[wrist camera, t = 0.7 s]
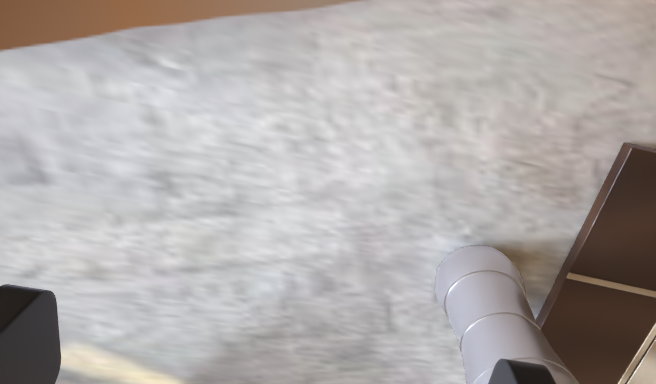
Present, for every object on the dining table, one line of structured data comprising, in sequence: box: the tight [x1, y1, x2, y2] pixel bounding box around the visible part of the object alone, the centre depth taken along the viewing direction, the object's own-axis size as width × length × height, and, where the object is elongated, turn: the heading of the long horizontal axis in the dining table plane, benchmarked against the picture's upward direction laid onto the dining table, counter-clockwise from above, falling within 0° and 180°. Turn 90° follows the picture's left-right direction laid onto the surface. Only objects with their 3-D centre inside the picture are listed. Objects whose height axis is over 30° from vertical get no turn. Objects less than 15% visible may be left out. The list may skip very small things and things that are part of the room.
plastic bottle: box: [435, 245, 579, 384], centre depth 32 cm, size 6×7×20 cm
